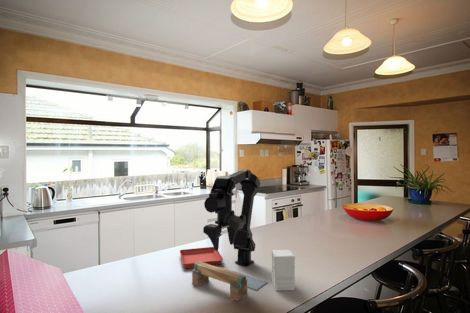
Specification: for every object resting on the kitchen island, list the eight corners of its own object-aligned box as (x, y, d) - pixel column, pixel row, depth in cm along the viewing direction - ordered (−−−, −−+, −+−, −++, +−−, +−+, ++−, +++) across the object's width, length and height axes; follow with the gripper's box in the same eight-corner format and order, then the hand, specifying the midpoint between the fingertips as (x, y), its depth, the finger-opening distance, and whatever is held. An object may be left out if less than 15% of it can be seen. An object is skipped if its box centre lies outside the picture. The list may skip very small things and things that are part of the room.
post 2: (240, 291, 98) (240, 277, 98) (247, 294, 97) (247, 279, 97) (230, 298, 93) (230, 283, 93) (237, 301, 92) (237, 285, 92)
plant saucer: (182, 271, 116) (182, 263, 116) (179, 256, 134) (179, 249, 134) (223, 267, 121) (223, 259, 121) (215, 253, 138) (215, 246, 138)
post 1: (202, 278, 109) (203, 265, 109) (208, 280, 107) (208, 267, 107) (192, 283, 104) (192, 270, 104) (198, 286, 102) (198, 272, 102)
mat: (219, 267, 119) (219, 266, 119) (267, 282, 105) (267, 281, 105) (206, 273, 113) (206, 272, 113) (256, 290, 99) (256, 289, 99)
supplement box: (290, 281, 107) (290, 249, 107) (295, 290, 99) (295, 256, 99) (271, 281, 106) (271, 249, 106) (274, 291, 99) (275, 256, 99)
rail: (199, 269, 108) (199, 261, 108) (246, 284, 95) (246, 275, 95) (194, 271, 105) (194, 263, 105) (241, 288, 93) (241, 279, 93)
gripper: (225, 214, 96) (225, 259, 96) (254, 207, 111) (254, 245, 111) (202, 210, 103) (202, 252, 103) (232, 204, 117) (232, 240, 117)
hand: (224, 247), depth 108 cm, fingers open, 9 cm apart
